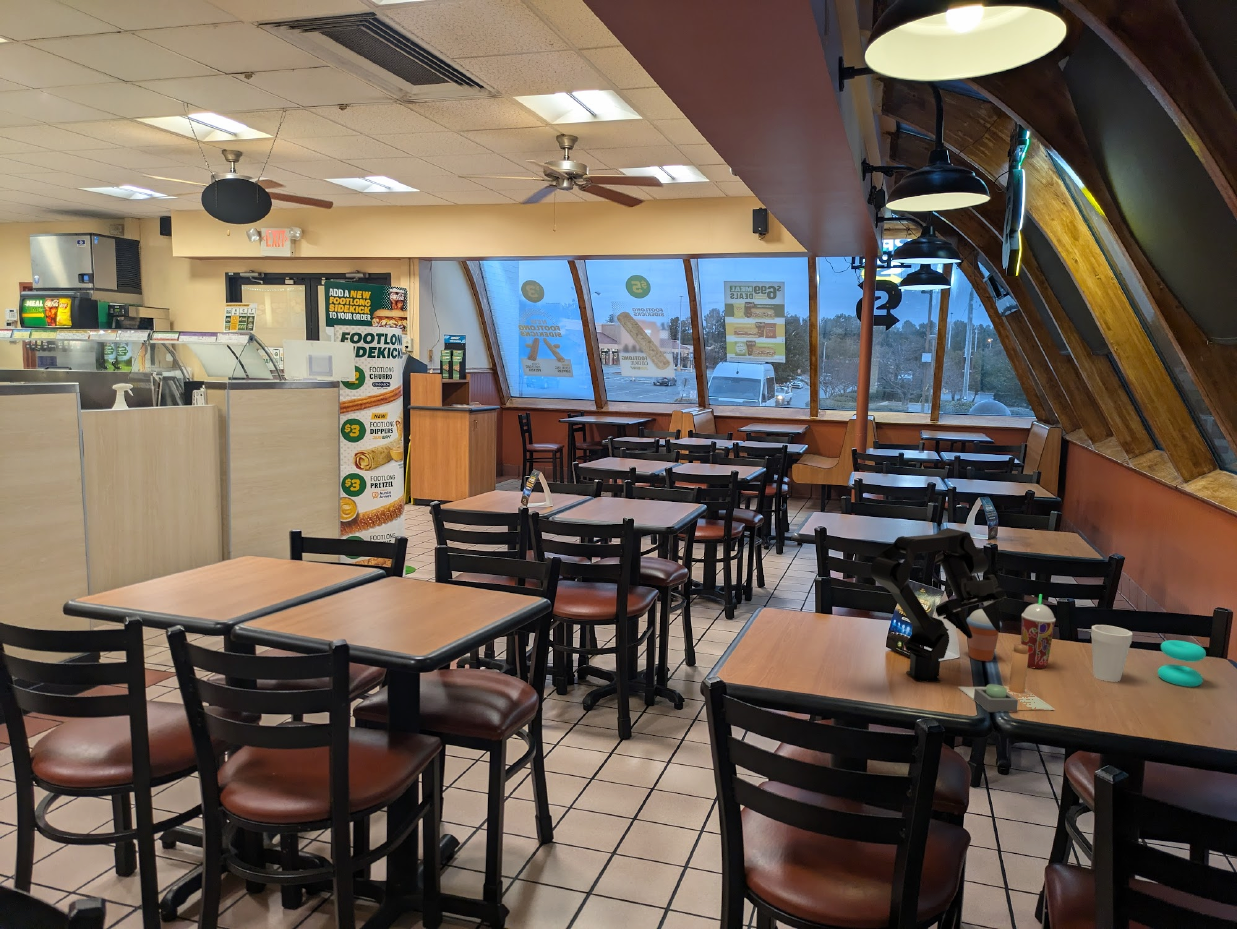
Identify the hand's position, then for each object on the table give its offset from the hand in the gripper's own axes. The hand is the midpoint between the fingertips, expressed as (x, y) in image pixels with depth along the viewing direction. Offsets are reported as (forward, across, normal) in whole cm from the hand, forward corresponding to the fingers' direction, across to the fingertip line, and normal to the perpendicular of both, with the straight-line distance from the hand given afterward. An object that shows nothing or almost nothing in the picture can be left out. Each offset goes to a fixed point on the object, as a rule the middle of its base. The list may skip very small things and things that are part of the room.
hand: (985, 634), depth 216 cm
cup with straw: (+4, +15, +23) cm, 28 cm away
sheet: (+16, -3, 0) cm, 16 cm away
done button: (+15, -8, -4) cm, 18 cm away
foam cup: (+18, +36, +6) cm, 41 cm away
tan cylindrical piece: (+15, +4, +2) cm, 15 cm away
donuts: (+25, +54, 0) cm, 59 cm away
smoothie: (+10, +25, +16) cm, 31 cm away
